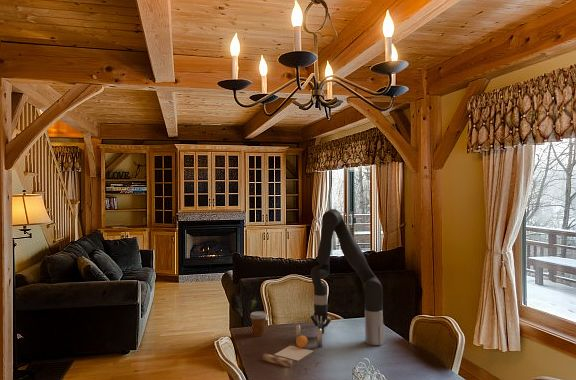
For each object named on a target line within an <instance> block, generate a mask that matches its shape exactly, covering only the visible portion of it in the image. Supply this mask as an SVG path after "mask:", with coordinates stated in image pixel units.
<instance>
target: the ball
mask: <svg viewBox="0 0 576 380" xmlns="http://www.w3.org/2000/svg"><path fill="white" fill-rule="evenodd" d="M308 339H309V338H308V337H307V336H305V335H303V334H301V336H299V337H298V338H297V340H296V339H295V342H296V345H297V347H299V348H303V349H305V348H306V347H307V346H308V344H309V340H308Z"/></svg>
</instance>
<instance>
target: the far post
mask: <svg viewBox="0 0 576 380" xmlns="http://www.w3.org/2000/svg"><path fill="white" fill-rule="evenodd" d="M301 326H302V325H301V324H300V323H297V324H295V341H296V340H297V338H298V337H299V336H301V335H302V331H301Z"/></svg>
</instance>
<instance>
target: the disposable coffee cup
mask: <svg viewBox="0 0 576 380" xmlns="http://www.w3.org/2000/svg"><path fill="white" fill-rule="evenodd" d="M267 316H268V314H267V313H266V312H265V311H260V310H258V311H253V312H251V313H250V315H249V318H250V321H251V328H252V335H253V336H254V337H258V336H259V337H263V336H265V334H266V333H265V332H266V324H267V323H266V322H267Z"/></svg>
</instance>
